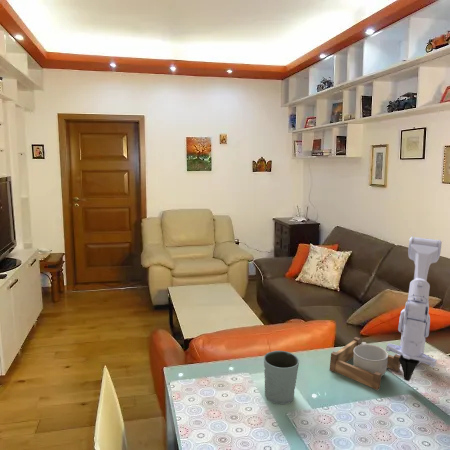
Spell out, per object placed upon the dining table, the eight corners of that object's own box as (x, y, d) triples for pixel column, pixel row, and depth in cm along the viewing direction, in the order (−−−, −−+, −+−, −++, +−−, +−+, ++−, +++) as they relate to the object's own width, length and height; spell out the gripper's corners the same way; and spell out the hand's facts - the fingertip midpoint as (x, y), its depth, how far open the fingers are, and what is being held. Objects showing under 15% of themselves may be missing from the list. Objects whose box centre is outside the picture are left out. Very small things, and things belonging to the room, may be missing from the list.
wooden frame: (354, 352, 155) (355, 336, 154) (399, 369, 145) (401, 353, 143) (329, 369, 143) (331, 353, 141) (377, 390, 132) (379, 372, 131)
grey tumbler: (298, 390, 130) (301, 354, 127) (292, 409, 120) (295, 370, 118) (266, 383, 133) (268, 347, 131) (257, 401, 124) (260, 363, 121)
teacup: (388, 384, 135) (391, 361, 134) (352, 379, 137) (355, 356, 136) (381, 363, 149) (384, 341, 147) (349, 358, 151) (351, 337, 149)
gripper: (384, 335, 133) (379, 374, 136) (433, 351, 124) (427, 394, 126) (393, 328, 138) (388, 366, 141) (441, 343, 129) (434, 384, 131)
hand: (407, 379), depth 134 cm, fingers closed
